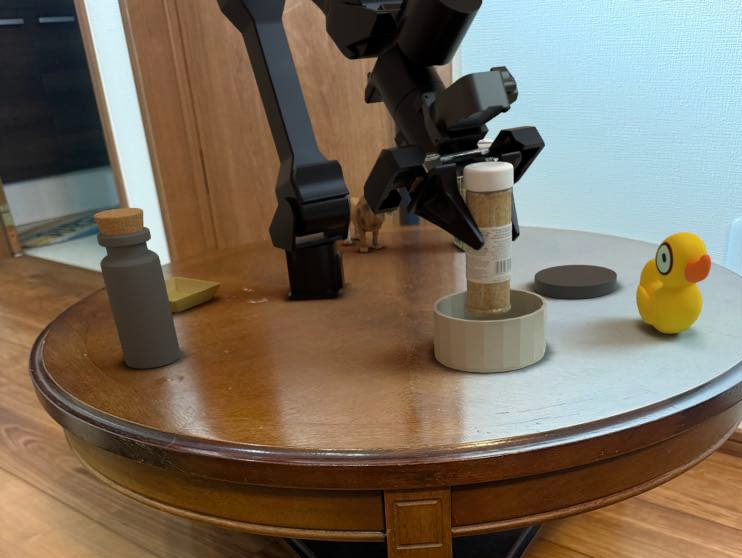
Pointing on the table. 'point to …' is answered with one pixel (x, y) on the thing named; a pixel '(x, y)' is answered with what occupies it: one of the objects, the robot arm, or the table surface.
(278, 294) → the table surface
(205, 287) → the yellow shallow tray
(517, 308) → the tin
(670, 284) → the duckling
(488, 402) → the table surface
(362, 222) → the lion figurine
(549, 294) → the stand
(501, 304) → the sprinkles bottle
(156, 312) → the bottle
